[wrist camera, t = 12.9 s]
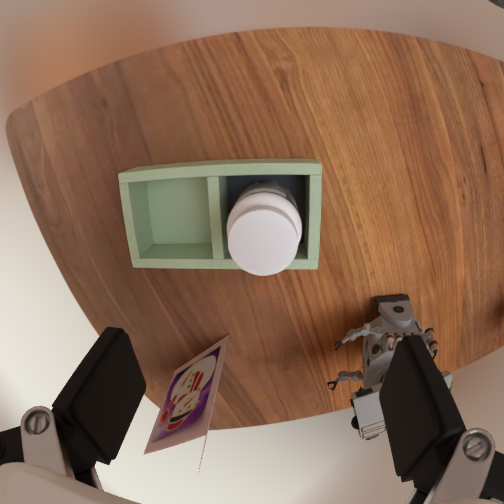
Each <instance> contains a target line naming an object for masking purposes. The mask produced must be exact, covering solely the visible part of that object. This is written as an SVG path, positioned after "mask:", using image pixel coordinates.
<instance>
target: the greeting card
mask: <svg viewBox="0 0 504 504" xmlns="http://www.w3.org/2000/svg"><path fill="white" fill-rule="evenodd" d="M228 339H229V335H227V336H226V337H224V338H223V339H222V340H220V341H219V342H217V343H216V344H214V345H213V346H211V347H210V348H208V349H207V350H205V351H204V352H202V353H201V354H199V355H198V356H196V357H195V358H193V359H192V360H190V361H189V362H187V363H186V364H184V365H183V366H181V367H179V368H178V369H176V370H175V372H174V375H173V378H172V380H171V383H170V385H169V388H168V390H167V393H166V396H165V398H164V401H163V404H162V406H161V409H160V411H159V414H158V417H157V419H156V422H155V425H154V427H153V430H152V433H151V435H150V438H149V441H148V444H147V446H146V449H145V452H144V454H148V453H151V452H155V451H158V450H162V449H165V448H168V447H171V446H175V445H178V444H181V443H184V442H187V441H190V440H193V439H196V438H199V437H202V436H205V435H206V437H205V442H206V438H207V433H208V429H209V425H210V420H211V416H212V411H213V407H214V402H215V398H216V394H217V389H218V385H219V380H220V375H221V371H222V366H223V361H224V357H225V352H226V348H227V343H228ZM205 442H204V447H205ZM204 447H203V451H204ZM202 456H203V452H202ZM201 459H202V457H201ZM200 464H201V462H200ZM199 469H200V468H199Z"/></svg>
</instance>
